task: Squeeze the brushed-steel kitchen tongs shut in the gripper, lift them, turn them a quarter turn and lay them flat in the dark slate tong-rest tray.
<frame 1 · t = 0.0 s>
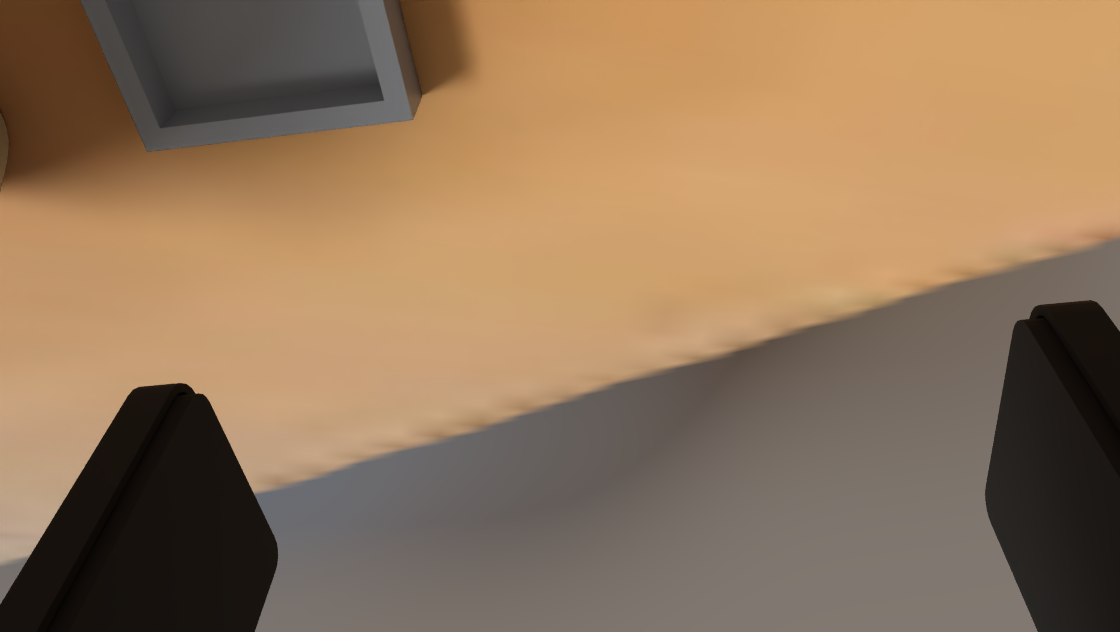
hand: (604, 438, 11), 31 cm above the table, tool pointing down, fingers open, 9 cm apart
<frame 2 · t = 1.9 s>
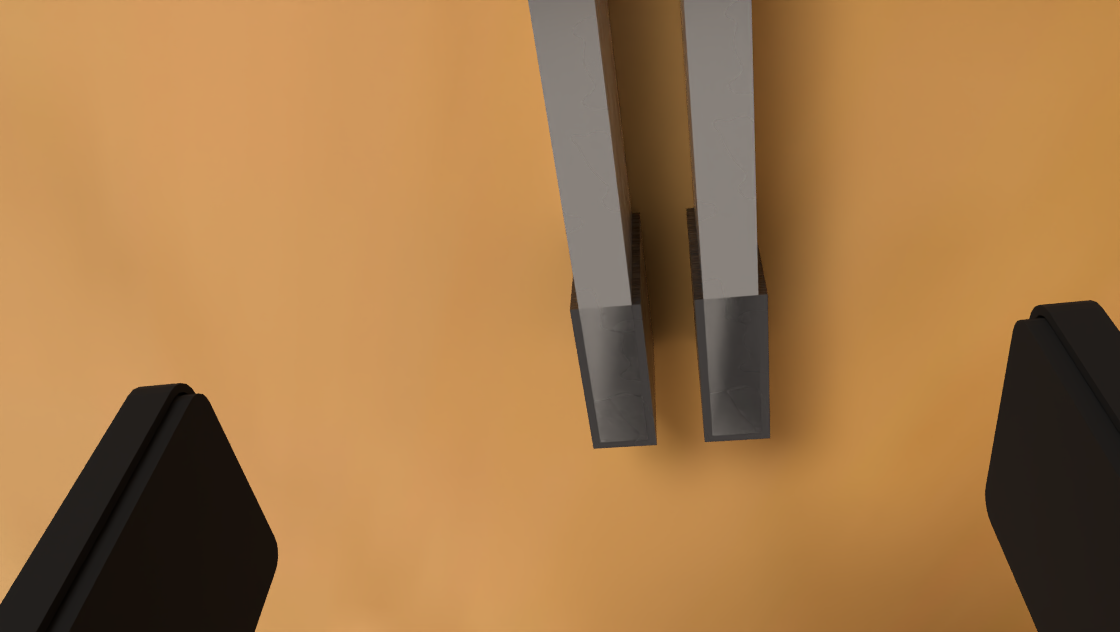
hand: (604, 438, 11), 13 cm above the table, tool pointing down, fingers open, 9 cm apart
tongs: (646, 28, 21), on the table
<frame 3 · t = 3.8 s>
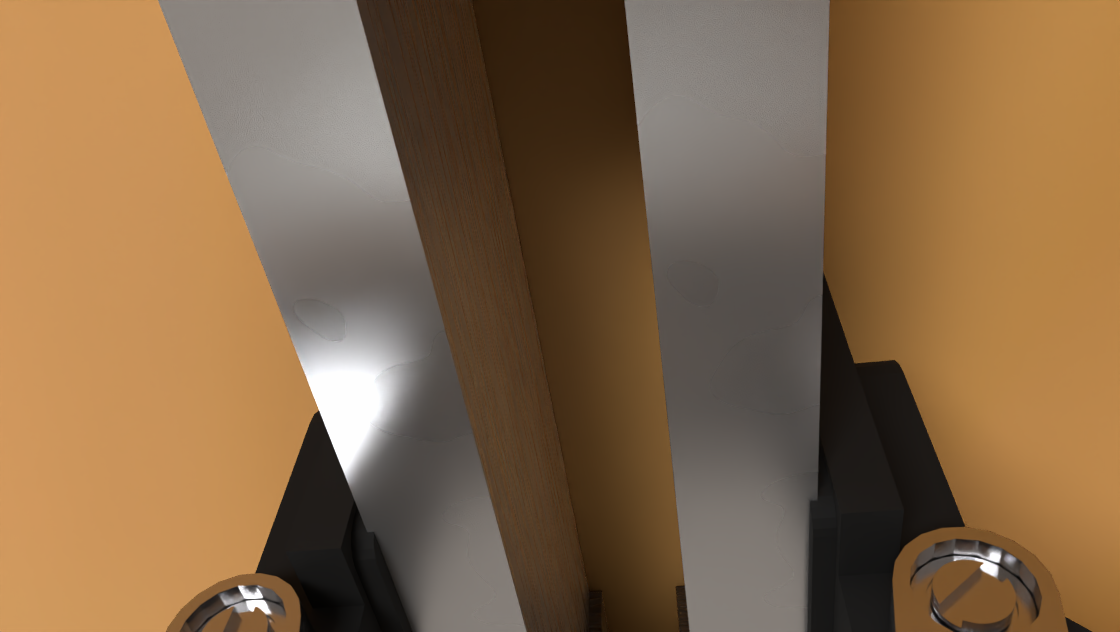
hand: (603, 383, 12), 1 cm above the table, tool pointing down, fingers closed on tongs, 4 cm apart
tongs: (604, 358, 12), on the table, touching gripper
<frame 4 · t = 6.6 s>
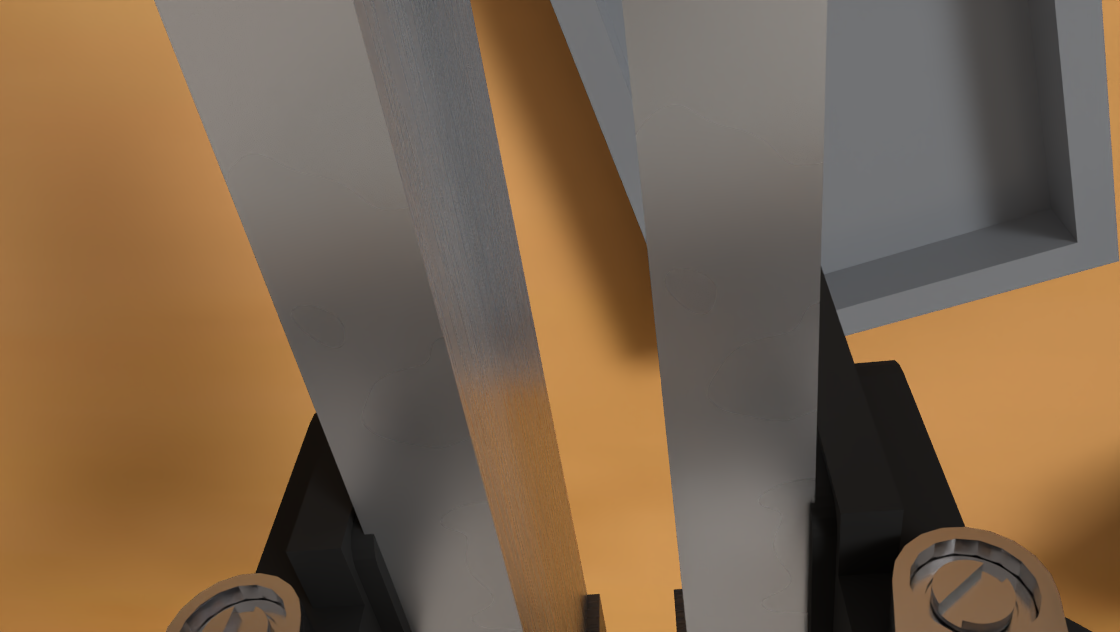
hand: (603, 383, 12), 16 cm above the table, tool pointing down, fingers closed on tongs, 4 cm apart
tongs: (602, 362, 12), point 15 cm above the table, touching gripper
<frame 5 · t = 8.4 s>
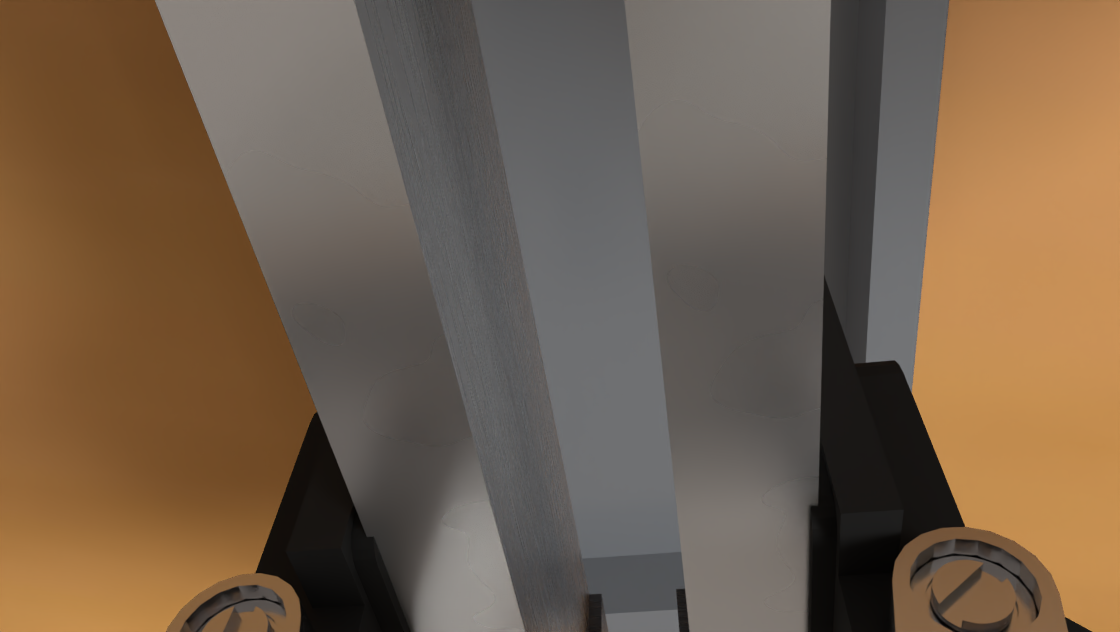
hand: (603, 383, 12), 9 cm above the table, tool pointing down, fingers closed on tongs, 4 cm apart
tongs: (604, 360, 12), point 8 cm above the table, touching gripper
tong tray: (599, 112, 19), on the table
when the fingers open (3 cm above the table, at t = 9.8 s): tongs drops 2 cm, resting on tong tray.
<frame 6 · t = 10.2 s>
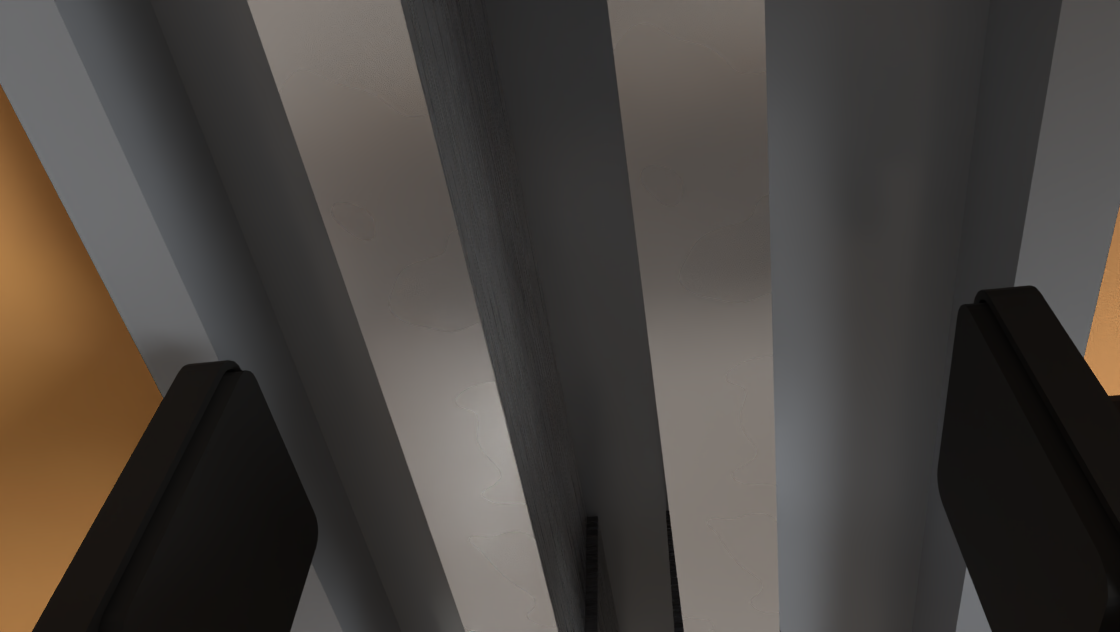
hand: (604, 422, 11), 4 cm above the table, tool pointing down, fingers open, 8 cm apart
tongs: (596, 292, 14), point 1 cm above the table, touching tong tray
tong tray: (603, 262, 14), on the table
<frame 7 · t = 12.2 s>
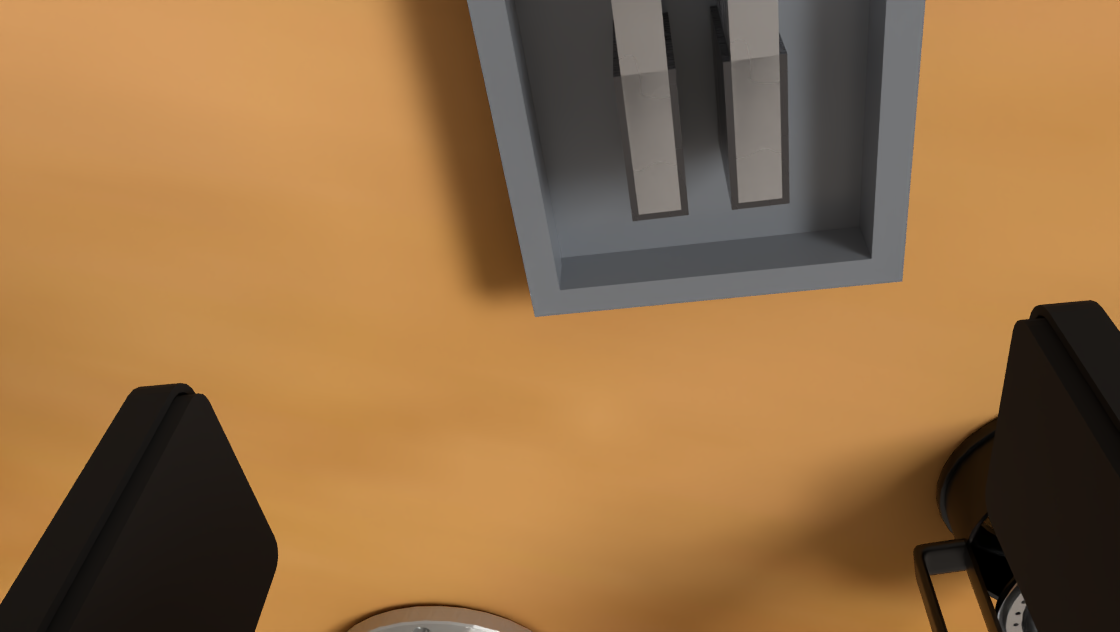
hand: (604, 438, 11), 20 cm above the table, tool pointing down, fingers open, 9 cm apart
french press: (1038, 476, 39), on the table
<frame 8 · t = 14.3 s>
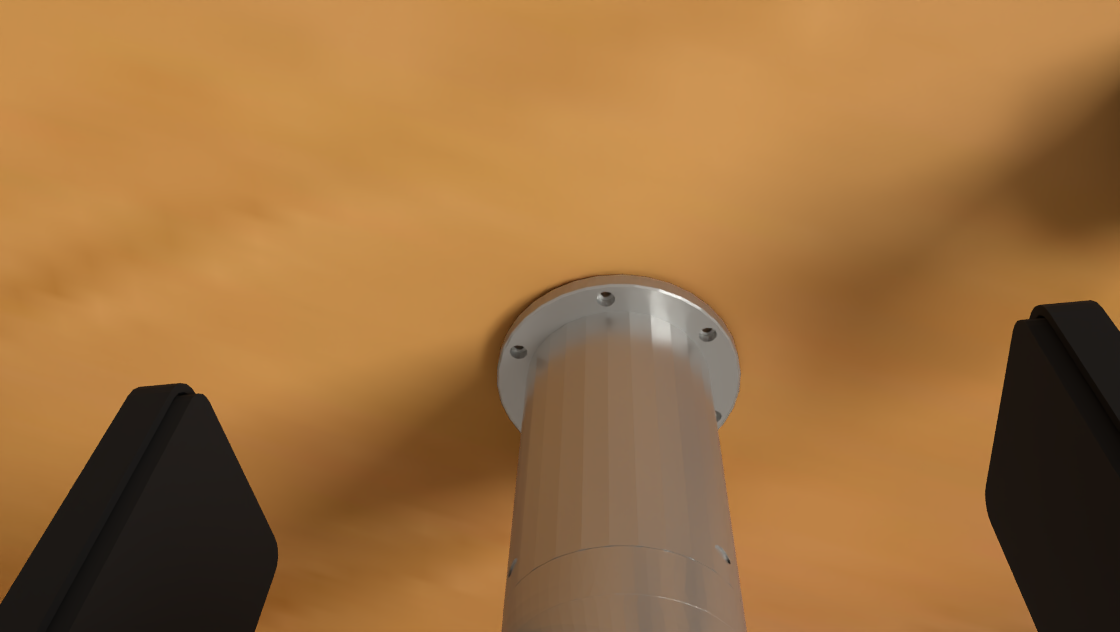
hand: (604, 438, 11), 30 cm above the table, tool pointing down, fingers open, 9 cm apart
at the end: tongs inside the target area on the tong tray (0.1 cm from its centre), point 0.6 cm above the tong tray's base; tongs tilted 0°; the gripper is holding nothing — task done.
